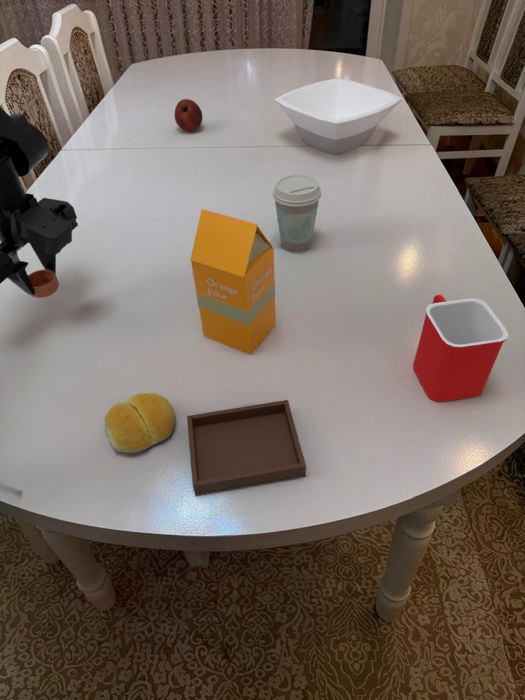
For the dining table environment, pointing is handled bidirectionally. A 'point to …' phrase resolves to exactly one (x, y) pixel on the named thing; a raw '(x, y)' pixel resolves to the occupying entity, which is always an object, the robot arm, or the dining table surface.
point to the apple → (188, 115)
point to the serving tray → (244, 447)
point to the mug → (457, 348)
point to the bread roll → (139, 422)
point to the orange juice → (233, 281)
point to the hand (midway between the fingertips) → (42, 284)
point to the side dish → (43, 283)
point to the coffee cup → (296, 210)
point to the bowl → (337, 113)
